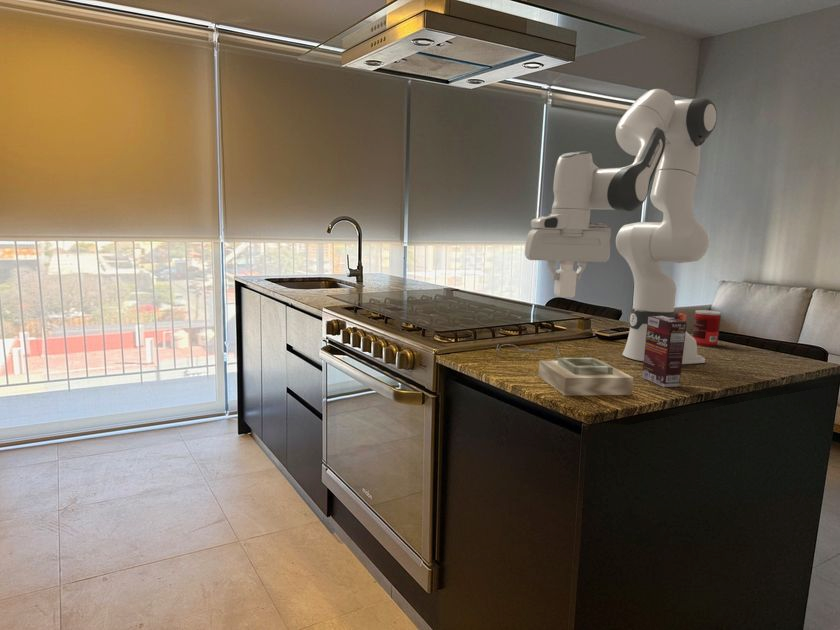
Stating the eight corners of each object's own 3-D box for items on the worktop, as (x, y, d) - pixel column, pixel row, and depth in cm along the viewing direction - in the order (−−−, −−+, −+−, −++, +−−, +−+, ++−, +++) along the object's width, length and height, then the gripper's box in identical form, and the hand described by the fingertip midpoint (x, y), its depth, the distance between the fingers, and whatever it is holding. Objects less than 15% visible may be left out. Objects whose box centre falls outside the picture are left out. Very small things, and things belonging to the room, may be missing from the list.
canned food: (718, 343, 195) (722, 311, 193) (715, 347, 188) (719, 314, 187) (693, 340, 199) (697, 309, 197) (690, 344, 193) (693, 311, 191)
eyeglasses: (495, 357, 164) (495, 343, 163) (498, 346, 182) (498, 333, 182) (560, 362, 161) (561, 348, 160) (556, 350, 179) (557, 337, 179)
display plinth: (599, 376, 146) (601, 354, 145) (631, 394, 130) (634, 371, 129) (538, 376, 143) (539, 354, 142) (564, 395, 128) (566, 371, 127)
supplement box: (640, 378, 145) (646, 315, 143) (657, 377, 147) (663, 315, 144) (663, 387, 137) (670, 321, 135) (680, 387, 139) (688, 321, 136)
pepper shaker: (552, 295, 141) (555, 256, 140) (567, 295, 142) (570, 256, 141) (560, 297, 137) (563, 257, 136) (575, 297, 138) (579, 257, 137)
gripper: (605, 223, 141) (600, 279, 144) (524, 220, 138) (521, 278, 141) (617, 223, 135) (612, 282, 137) (533, 220, 132) (529, 280, 134)
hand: (565, 280), depth 139 cm, fingers closed on pepper shaker, 4 cm apart
